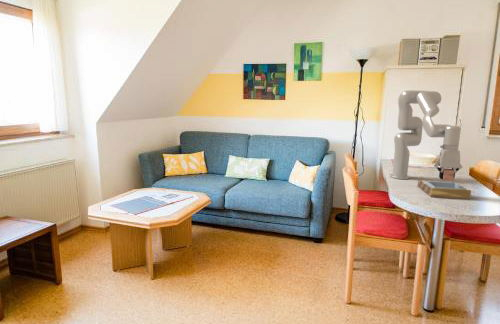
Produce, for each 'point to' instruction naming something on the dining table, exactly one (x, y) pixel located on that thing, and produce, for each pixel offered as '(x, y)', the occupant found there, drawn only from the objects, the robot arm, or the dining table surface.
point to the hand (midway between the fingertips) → (446, 178)
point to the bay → (444, 192)
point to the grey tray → (444, 185)
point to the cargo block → (448, 174)
